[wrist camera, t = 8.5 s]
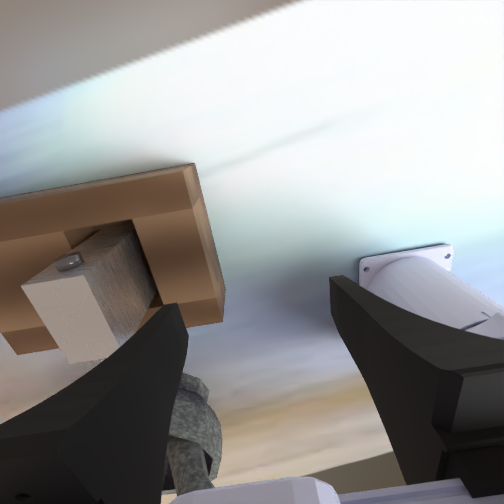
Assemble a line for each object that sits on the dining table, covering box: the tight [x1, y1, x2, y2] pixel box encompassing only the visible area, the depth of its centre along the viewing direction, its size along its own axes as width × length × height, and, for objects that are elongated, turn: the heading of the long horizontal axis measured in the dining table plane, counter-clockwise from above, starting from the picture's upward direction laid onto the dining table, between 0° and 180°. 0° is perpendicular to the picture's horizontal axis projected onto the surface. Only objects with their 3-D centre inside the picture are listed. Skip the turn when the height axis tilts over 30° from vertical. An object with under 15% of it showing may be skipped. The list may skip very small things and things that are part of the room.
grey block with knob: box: [21, 223, 158, 364], centre depth 17 cm, size 6×3×8 cm, turn 9°
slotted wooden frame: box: [0, 163, 226, 355], centre depth 20 cm, size 11×16×4 cm
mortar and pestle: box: [161, 374, 222, 496], centre depth 24 cm, size 11×9×12 cm
